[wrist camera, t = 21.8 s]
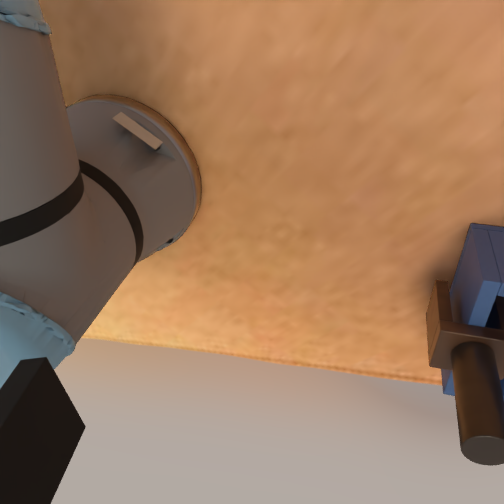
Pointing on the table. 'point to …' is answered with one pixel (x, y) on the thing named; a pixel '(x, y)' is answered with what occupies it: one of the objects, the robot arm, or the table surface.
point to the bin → (476, 283)
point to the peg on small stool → (471, 373)
